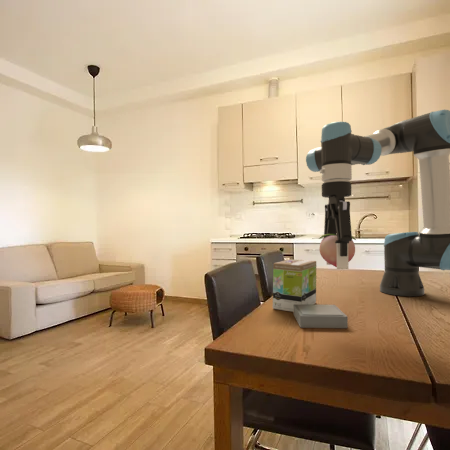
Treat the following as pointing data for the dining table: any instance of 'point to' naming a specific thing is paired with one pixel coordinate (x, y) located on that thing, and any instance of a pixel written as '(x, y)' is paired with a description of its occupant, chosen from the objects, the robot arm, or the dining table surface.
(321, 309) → the slate trivet
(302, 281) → the tea box
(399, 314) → the dining table surface
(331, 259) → the decorative fruit
